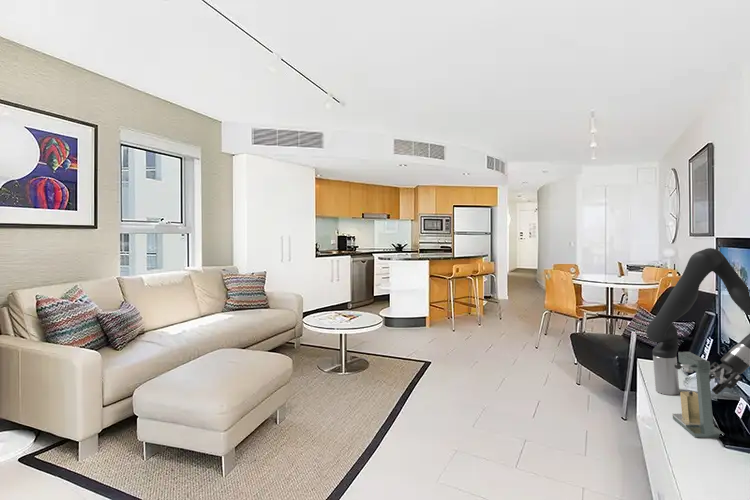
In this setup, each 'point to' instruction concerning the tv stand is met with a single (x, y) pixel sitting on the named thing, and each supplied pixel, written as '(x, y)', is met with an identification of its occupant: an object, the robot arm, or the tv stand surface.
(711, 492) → the tv stand surface
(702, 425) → the arbor press
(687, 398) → the block
